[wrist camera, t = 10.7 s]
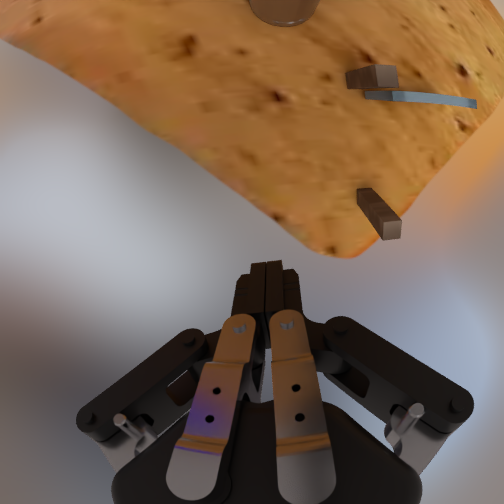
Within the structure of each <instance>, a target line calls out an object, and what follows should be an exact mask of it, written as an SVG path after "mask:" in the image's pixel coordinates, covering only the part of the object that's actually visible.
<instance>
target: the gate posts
mask: <svg viewBox="0 0 504 504" xmlns="http://www.w3.org/2000/svg"><path fill="white" fill-rule="evenodd" d="M345 75H346V81H347V87H348V89H369V88H399V84H398V76H397V70H396V66H392V65H377V64H375V65H371V66H367V67H364V68H360V69H357V70H353V71H350V72H347V73H345ZM357 204H358V206H359V207H360V208H361V210H362V211H363V213H364V214H365V215H366V217H367V218H368V220H369V221H370V222H371V224H372V225H373V227H374V228H375V230H376V231H377V233H378V234H379V236H380V237H381V239H382V240H390V239H399V238H400V236H401V224H402V220H401V219H400V218H399V217H398V216H397V214H396V213H395V212H394V211H393V210H392V209H391V208H390V207H389V206H388V205H387V204H386V203H385V201H384V200H383V199H382V198H381V197H380V196H379V195H378V194H377V193H376V192H375V191H374V190H373V189H372V188H364V189H357Z"/></svg>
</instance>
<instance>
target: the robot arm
mask: <svg viewBox="0 0 504 504" xmlns="http://www.w3.org/2000/svg"><path fill="white" fill-rule="evenodd" d="M249 2H250V6H251V8H252V10H253V12H254V13H255V14H256V16H257V17H259V18H260V19H261V20H262V21H264V22H266V23H268V24H272V25H275V26H281V27H289V26H295V25H298V24H301V23H303V22H305V21H306V20H308V19H309V18H310V17H311V16H312V14H313V12H314V11H315V9H316V7H317V5H318V3H319V2H320V0H249ZM269 348H271V350H272V361H271V368H272V382H273V395H274V400H271V401H267V402H264V403H261V391H262V385H263V378H264V370H265V349H269ZM186 370H188V371H187V372H185V371H186ZM316 371H317V372H323V374H324V376H325V377H326V378H327V379H329V380H330V381H331V382H333V383H334V384H335V385H336V386H338V387H339V388H340V389H341V390H343V391H344V392H345V393H346V394H348V395H349V396H350V397H352V398H353V399H354V400H355V401H357V402H358V403H359V404H361V405H362V406H363V407H364V408H366V409H367V410H368V411H370V412H371V413H372V414H374V415H375V416H376V417H378V418H379V419H380V420H382V421H383V422H384V423H386V426H385V429H384V435H385V438H386V440H387V441H388V442H389V443H390V444H391V446H392V447H393V450H394V453H393V452H392V451H391V450H390V449H388V448H387V447H386V446H385V445H383V444H382V443H381V442H380V441H378V440H377V439H376V438H375V437H374V436H373V435H371V434H370V433H369V432H368V431H367V430H365V429H364V428H363V427H362V426H361V425H359V424H358V423H357V422H356V421H355V420H354V419H353V418H351V417H350V416H349V415H348V414H347V413H346V412H344V411H343V410H342V409H340V408H338V407H337V406H335V405H333V404H330V403H327V402H323V401H322V398H321V393H320V388H319V383H318V377H317V372H316ZM184 372H185V373H184ZM182 373H184V374H183V375H182V376H181V377H179V376H180V375H181V374H182ZM178 377H179V378H178ZM176 378H178V379H177V380H176V381H174V380H175V379H176ZM173 381H174V383H172V384H171V385H170V386H169V387H167V386H168V385H169V384H170V383H171V382H173ZM190 408H191V410H190V412H188V413H186V414H185V415H184V416H183V417H182V418H180V417H181V416H182V415H183V414H184V413H185V412H187V411H188V410H189V409H190ZM473 409H474V400H473V398H472V396H471V394H470V393H469V392H468V391H467V390H466V389H464V388H462V387H461V386H459V385H457V384H456V383H454V382H453V381H451V380H449V379H448V378H446V377H445V376H443V375H441V374H440V373H438V372H436V371H435V370H433V369H432V368H430V367H428V366H427V365H425V364H424V363H422V362H420V361H419V360H417V359H415V358H414V357H412V356H411V355H409V354H407V353H406V352H404V351H403V350H401V349H399V348H398V347H396V346H395V345H393V344H391V343H390V342H388V341H386V340H385V339H383V338H382V337H380V336H378V335H377V334H375V333H374V332H372V331H370V330H369V329H367V328H366V327H364V326H362V325H361V324H359V323H358V322H356V321H354V320H353V319H351V318H349V317H345V316H338V317H334V318H331V319H330V320H328V321H327V322H326V323H325V324H323V323H316V322H313V321H311V320H309V319H307V318H306V317H305V315H304V314H303V310H302V302H301V293H300V285H299V276H298V274H297V273H296V272H295V270H294V269H287V270H283V265H282V260H278V261H268V262H267V263H266V262H260V263H252V264H251V270H250V274H244V275H241V277H240V278H239V279H238V280H237V283H236V290H235V296H234V300H233V306H232V312H231V317H230V318H228V319H227V320H226V321H225V322H224V324H223V327H222V329H220V330H218V331H216V332H213V333H209V334H206V335H204V333H203V332H202V331H201V330H199V329H194V328H192V329H186V330H184V331H182V332H180V333H179V334H178V335H177V336H175V337H174V338H173V339H171V340H170V341H169V342H168V343H166V344H165V345H164V346H162V347H161V348H160V349H159V350H157V351H156V352H155V353H153V354H152V355H151V356H149V357H148V358H147V359H146V360H144V361H143V362H142V363H140V364H139V365H138V366H137V367H135V368H134V369H133V370H131V371H130V372H129V373H127V374H126V375H125V376H123V377H122V378H121V379H119V380H118V381H117V382H116V383H114V384H113V385H112V386H110V387H109V388H108V389H106V390H105V391H104V392H102V393H101V394H100V395H98V396H97V397H96V398H94V399H93V400H92V401H90V402H89V403H88V404H87V405H85V406H84V407H82V408H81V409H80V411H79V412H78V414H77V417H76V424H77V427H78V428H79V429H80V430H81V431H82V432H84V433H85V434H86V435H88V436H89V437H90V438H91V439H92V440H94V441H95V442H96V443H98V445H99V447H100V448H101V450H102V452H103V453H104V455H105V456H106V458H107V460H108V461H109V463H110V464H111V466H112V467H113V469H114V470H115V472H116V475H115V477H114V479H113V482H112V486H111V492H112V498H113V501H114V504H419V503H420V500H421V496H422V482H421V479H420V477H419V475H420V474H421V473H422V472H423V470H424V469H425V468H426V467H427V465H428V464H429V463H430V462H431V460H432V459H433V458H434V456H435V454H437V452H438V451H439V449H440V448H441V447H442V445H443V444H444V442H445V441H446V439H447V438H448V436H450V435H451V434H452V433H453V432H454V431H455V430H456V429H457V428H459V427H460V426H461V425H462V424H463V423H464V422H465V421H466V420H467V419H468V418H469V417H470V415H471V414H472V412H473ZM178 418H180V419H179V420H178V421H177V422H176V423H175V424H174V425H172V426H171V427H170V428H169V429H168V430H167V431H166V432H165V433H164V434H162V435H161V436H160V437H159V438H158V435H159V434H160V433H161V432H162V431H164V430H165V429H166V428H167V427H169V426H170V425H171V424H172V423H174V422H175V421H176V420H177V419H178Z"/></svg>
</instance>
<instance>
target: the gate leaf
mask: <svg viewBox="0 0 504 504" xmlns="http://www.w3.org/2000/svg"><path fill="white" fill-rule="evenodd" d="M365 98H366V99H372V100H387V101H406V102H424V103H436V104H446V105H454V106H462V107H469V108H475V109H477V103H476V100H474V99H468V98H463V97H456V96H449V95H441V94H432V93H422V92H408V91H365Z"/></svg>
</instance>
